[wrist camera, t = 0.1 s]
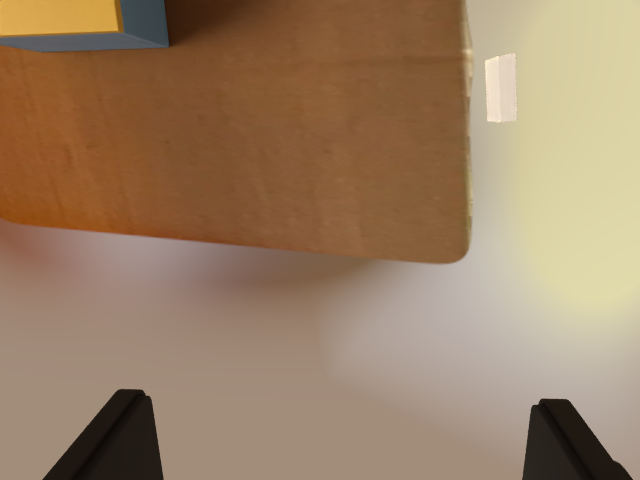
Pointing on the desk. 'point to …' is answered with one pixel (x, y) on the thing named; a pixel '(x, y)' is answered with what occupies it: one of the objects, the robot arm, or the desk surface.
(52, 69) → the desk surface
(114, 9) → the lid
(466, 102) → the desk surface
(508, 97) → the eraser
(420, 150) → the desk surface
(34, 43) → the blue open box
